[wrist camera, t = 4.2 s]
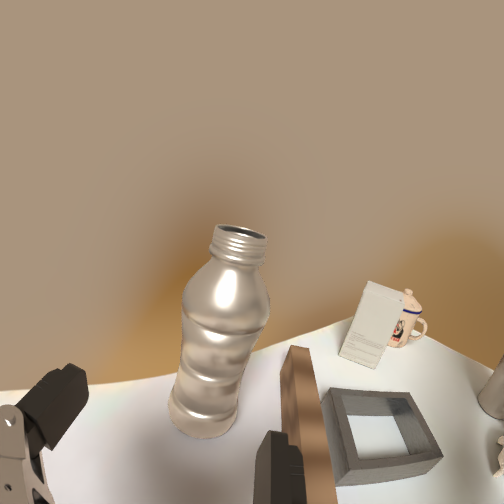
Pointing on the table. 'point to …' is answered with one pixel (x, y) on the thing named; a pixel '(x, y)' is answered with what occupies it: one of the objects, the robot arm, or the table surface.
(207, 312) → the silver bottle
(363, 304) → the supplement box
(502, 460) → the white piece
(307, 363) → the wooden plank
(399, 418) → the keeper
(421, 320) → the teacup with lid
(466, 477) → the table surface
